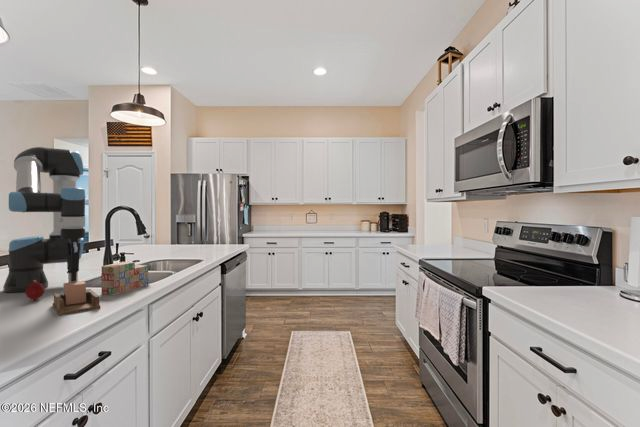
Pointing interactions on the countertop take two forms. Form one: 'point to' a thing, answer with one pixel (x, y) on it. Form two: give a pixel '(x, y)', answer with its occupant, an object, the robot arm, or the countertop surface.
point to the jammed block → (74, 292)
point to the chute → (64, 309)
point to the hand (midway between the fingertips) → (72, 289)
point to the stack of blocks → (123, 277)
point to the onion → (34, 290)
